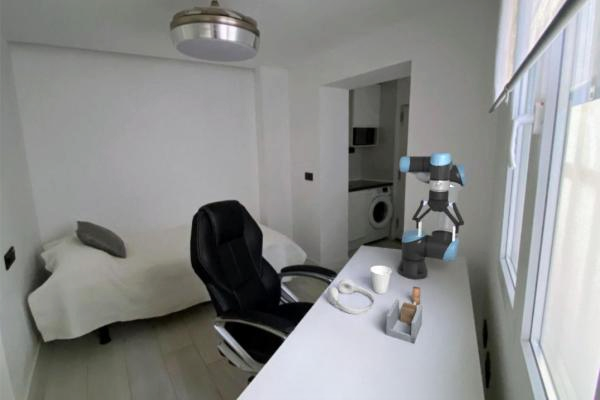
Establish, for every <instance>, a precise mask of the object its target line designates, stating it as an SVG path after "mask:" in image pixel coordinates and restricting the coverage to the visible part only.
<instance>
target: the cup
mask: <svg viewBox="0 0 600 400" xmlns="http://www.w3.org/2000/svg"><path fill="white" fill-rule="evenodd" d="M369 271H370V274H371V281H372V286H373V291H374V292H375V293H376V294H378V295H385V294H386V293H387V292H388V288H389V284H390V278H391V274H392V268H391V267H388V266H385V265H373V266H371V267H370V268H369Z"/></svg>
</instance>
